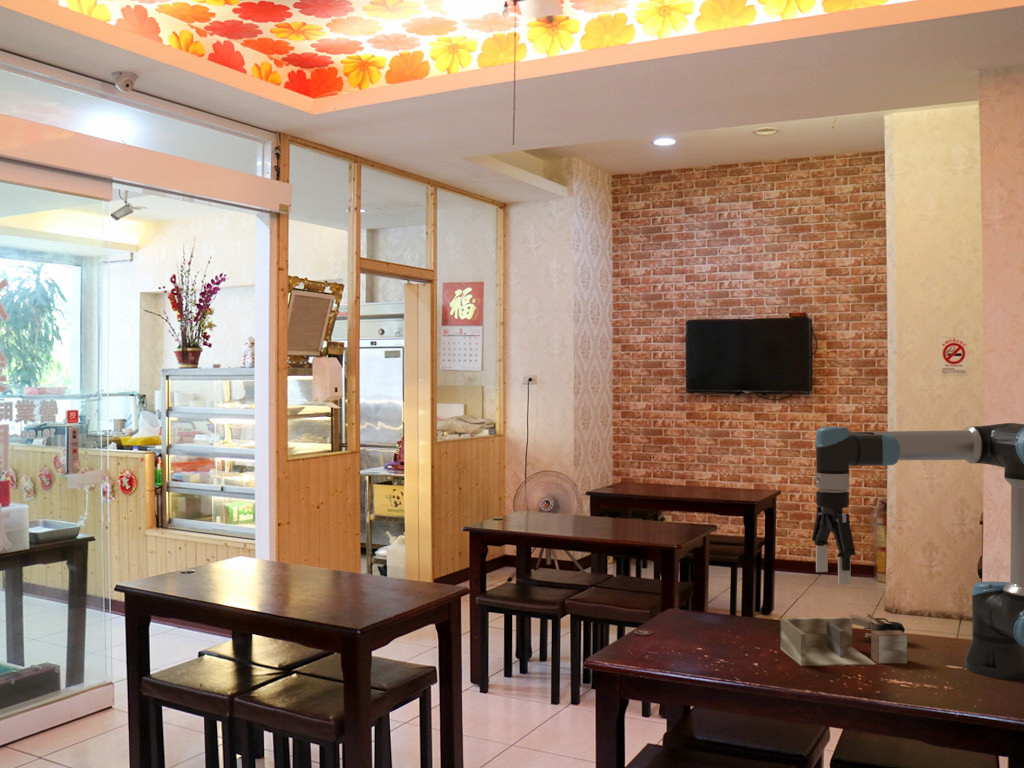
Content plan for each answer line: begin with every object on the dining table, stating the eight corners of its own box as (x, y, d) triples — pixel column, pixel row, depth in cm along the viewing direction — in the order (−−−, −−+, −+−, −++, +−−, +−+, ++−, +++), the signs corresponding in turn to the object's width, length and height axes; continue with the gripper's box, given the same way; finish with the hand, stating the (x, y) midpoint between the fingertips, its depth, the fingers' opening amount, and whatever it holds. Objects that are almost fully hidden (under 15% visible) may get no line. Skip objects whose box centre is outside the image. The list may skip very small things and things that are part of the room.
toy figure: (848, 631, 269) (903, 638, 263) (848, 640, 263) (904, 648, 258) (849, 609, 267) (904, 615, 262) (849, 617, 261) (906, 624, 256)
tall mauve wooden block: (900, 660, 244) (900, 630, 244) (907, 664, 240) (907, 634, 240) (871, 660, 244) (871, 630, 244) (878, 665, 240) (878, 635, 240)
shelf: (850, 649, 254) (850, 617, 254) (875, 667, 238) (875, 633, 238) (780, 650, 253) (780, 618, 253) (801, 668, 237) (801, 634, 237)
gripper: (798, 484, 231) (798, 567, 232) (838, 497, 207) (838, 589, 207) (827, 484, 232) (827, 566, 232) (870, 496, 207) (870, 589, 207)
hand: (832, 577), depth 219 cm, fingers open, 13 cm apart
